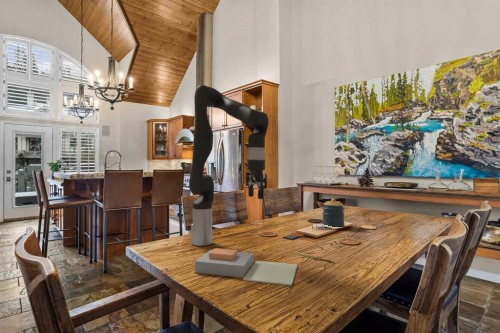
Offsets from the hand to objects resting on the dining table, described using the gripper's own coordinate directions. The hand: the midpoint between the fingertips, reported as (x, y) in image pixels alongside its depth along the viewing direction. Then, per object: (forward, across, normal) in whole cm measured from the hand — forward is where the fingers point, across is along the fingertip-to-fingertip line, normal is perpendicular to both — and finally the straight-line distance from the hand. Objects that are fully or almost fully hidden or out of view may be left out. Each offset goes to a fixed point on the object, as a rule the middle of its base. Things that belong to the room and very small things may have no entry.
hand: (255, 197), depth 117 cm
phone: (+25, -18, +34) cm, 46 cm away
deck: (+24, +7, -16) cm, 30 cm away
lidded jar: (+24, -25, +68) cm, 76 cm away
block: (+20, +6, -17) cm, 27 cm away
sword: (+25, +10, +20) cm, 33 cm away
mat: (+24, +19, -3) cm, 31 cm away
